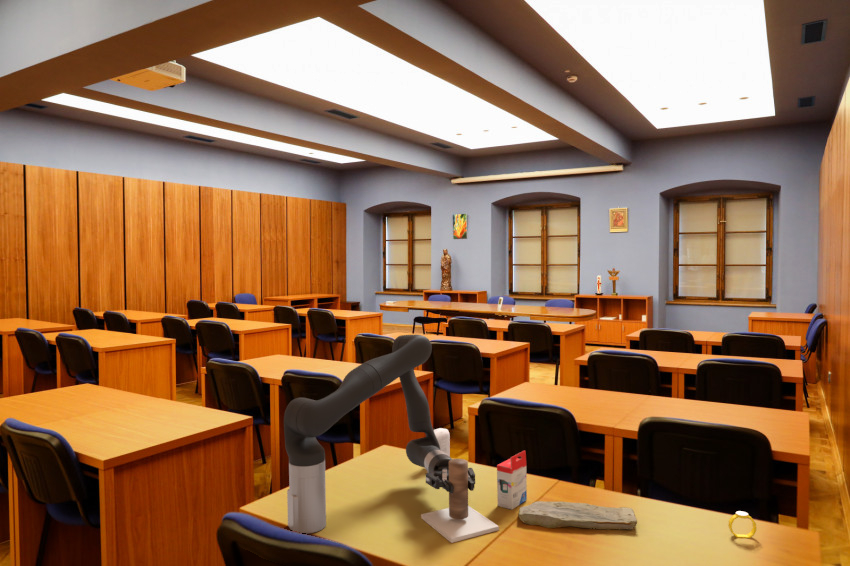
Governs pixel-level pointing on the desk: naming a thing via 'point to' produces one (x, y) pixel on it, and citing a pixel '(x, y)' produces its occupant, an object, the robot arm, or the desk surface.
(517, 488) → the ink box
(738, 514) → the gold ring
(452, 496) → the slanted wooden cylinder
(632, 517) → the stone slab
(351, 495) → the desk surface
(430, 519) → the white mat
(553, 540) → the desk surface
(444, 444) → the white rounded slab
